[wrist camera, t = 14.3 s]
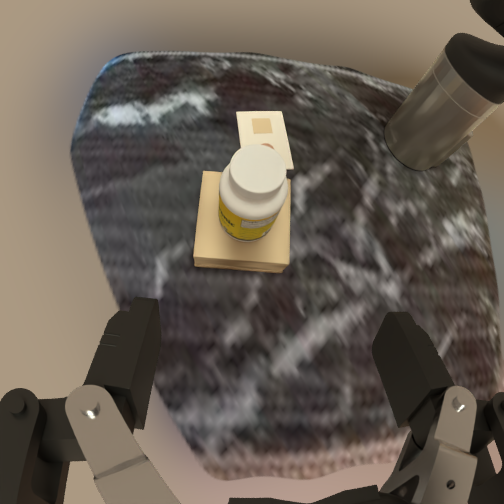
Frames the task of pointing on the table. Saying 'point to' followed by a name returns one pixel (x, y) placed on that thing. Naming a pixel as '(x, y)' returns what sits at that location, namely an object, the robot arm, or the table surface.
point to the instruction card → (265, 132)
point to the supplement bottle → (252, 192)
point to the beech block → (233, 251)
